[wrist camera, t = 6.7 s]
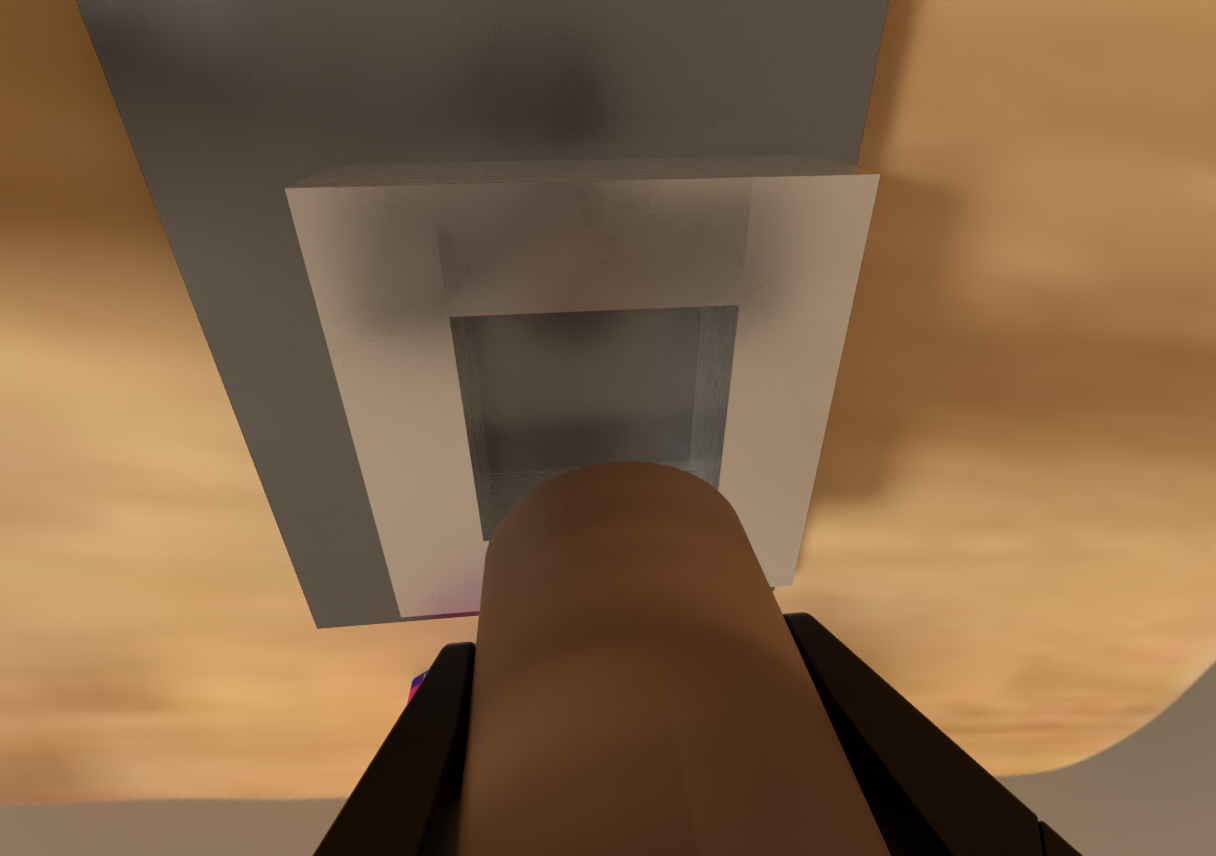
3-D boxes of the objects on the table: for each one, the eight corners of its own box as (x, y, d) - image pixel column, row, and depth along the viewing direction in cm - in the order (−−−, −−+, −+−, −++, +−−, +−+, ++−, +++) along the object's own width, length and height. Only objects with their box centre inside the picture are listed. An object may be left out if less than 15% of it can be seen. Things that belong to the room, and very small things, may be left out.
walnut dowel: (498, 665, 11) (455, 1375, 5) (467, 471, 9) (320, 1356, 3) (731, 644, 11) (948, 1280, 5) (761, 451, 9) (1195, 1193, 3)
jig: (326, 606, 21) (285, 709, 18) (95, -30, 12) (-84, -70, 8) (764, 570, 22) (805, 661, 19) (871, -27, 13) (989, -59, 10)
